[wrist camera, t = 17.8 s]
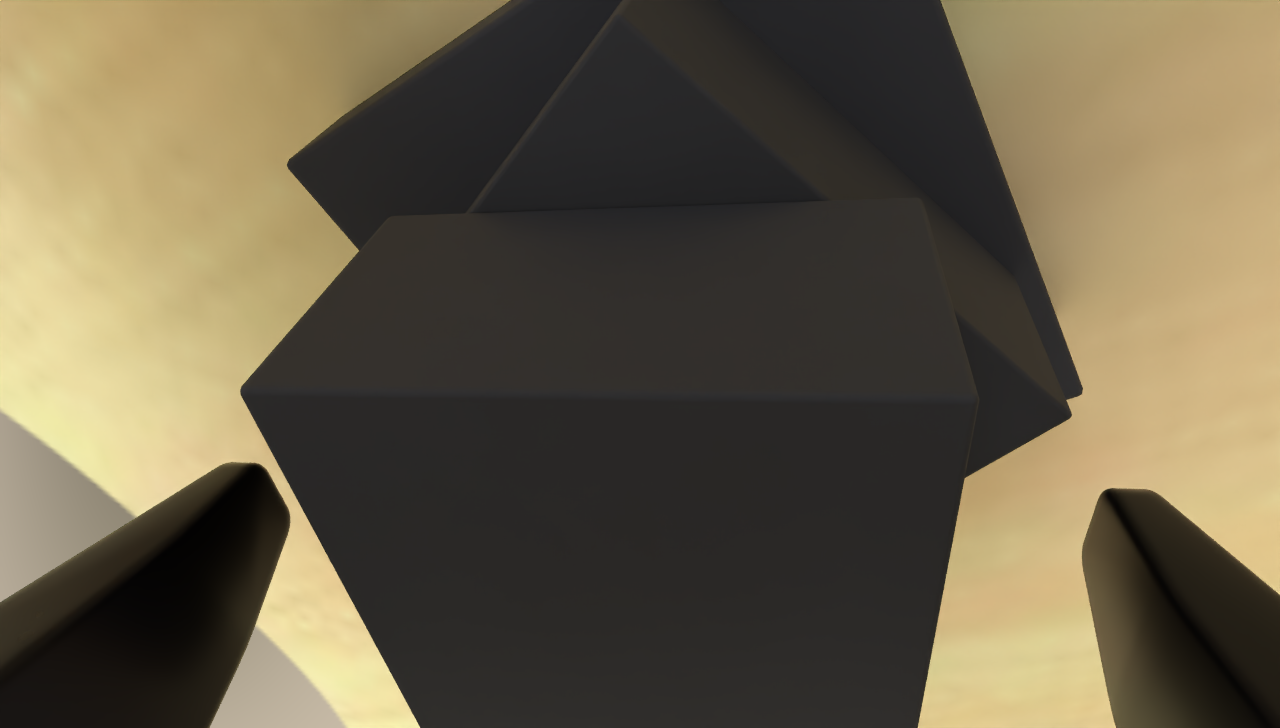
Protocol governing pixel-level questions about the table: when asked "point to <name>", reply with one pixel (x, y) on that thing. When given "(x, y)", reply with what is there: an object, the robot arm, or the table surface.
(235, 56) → the table surface
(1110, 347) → the table surface
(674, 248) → the dark gray block
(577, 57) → the base pad
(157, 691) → the robot arm
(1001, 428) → the charcoal square block
